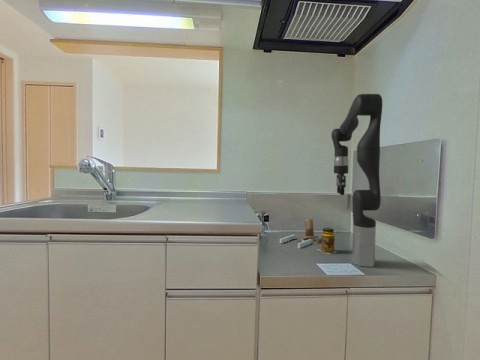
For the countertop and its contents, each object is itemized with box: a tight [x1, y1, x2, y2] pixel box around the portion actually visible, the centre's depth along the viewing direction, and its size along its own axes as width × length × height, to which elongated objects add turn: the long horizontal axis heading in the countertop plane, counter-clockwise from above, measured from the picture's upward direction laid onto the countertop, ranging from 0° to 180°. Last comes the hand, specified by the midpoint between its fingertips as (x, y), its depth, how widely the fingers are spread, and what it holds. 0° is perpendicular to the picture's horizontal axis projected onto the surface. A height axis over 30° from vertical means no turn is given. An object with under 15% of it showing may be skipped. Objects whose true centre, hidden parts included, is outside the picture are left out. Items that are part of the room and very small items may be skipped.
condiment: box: [316, 227, 338, 255], centre depth 140 cm, size 7×8×12 cm
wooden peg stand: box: [301, 218, 319, 239], centre depth 159 cm, size 9×9×11 cm
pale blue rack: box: [279, 234, 313, 249], centre depth 155 cm, size 14×13×2 cm
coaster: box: [301, 238, 320, 245], centre depth 158 cm, size 10×10×1 cm
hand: (340, 194), depth 152 cm, fingers open, 8 cm apart
